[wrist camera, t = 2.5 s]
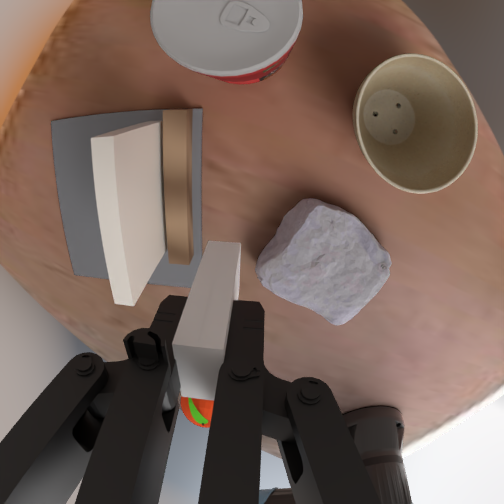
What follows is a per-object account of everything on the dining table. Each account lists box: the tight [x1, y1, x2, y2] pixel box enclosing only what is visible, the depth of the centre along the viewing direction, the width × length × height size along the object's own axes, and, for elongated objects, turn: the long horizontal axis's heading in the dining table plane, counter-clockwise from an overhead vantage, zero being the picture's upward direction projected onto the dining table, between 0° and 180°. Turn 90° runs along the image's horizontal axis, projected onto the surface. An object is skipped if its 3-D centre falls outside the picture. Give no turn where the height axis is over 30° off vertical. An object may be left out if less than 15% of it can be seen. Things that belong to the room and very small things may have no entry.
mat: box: [51, 109, 203, 288], centre depth 29 cm, size 18×16×1 cm
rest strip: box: [163, 109, 194, 265], centre depth 26 cm, size 14×2×2 cm, turn 177°
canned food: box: [150, 0, 303, 84], centre depth 17 cm, size 8×8×11 cm
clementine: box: [181, 396, 214, 427], centre depth 37 cm, size 8×7×7 cm
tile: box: [91, 121, 168, 306], centre depth 23 cm, size 12×2×10 cm, turn 177°
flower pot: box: [353, 53, 478, 194], centre depth 20 cm, size 10×10×7 cm
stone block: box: [255, 198, 391, 325], centre depth 29 cm, size 12×5×10 cm
